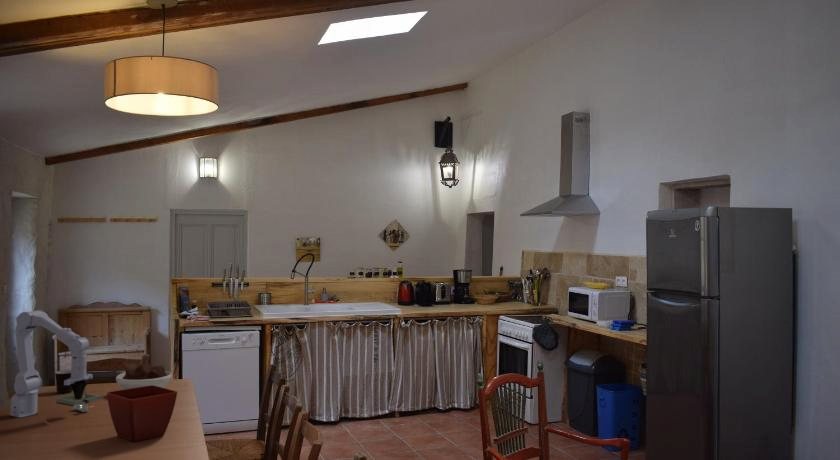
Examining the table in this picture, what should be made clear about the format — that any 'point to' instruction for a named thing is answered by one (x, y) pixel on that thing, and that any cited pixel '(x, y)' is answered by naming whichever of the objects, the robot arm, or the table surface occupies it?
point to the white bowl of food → (144, 377)
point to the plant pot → (141, 411)
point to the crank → (82, 406)
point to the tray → (70, 400)
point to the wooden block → (81, 398)
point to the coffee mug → (60, 381)
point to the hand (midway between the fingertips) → (78, 399)
